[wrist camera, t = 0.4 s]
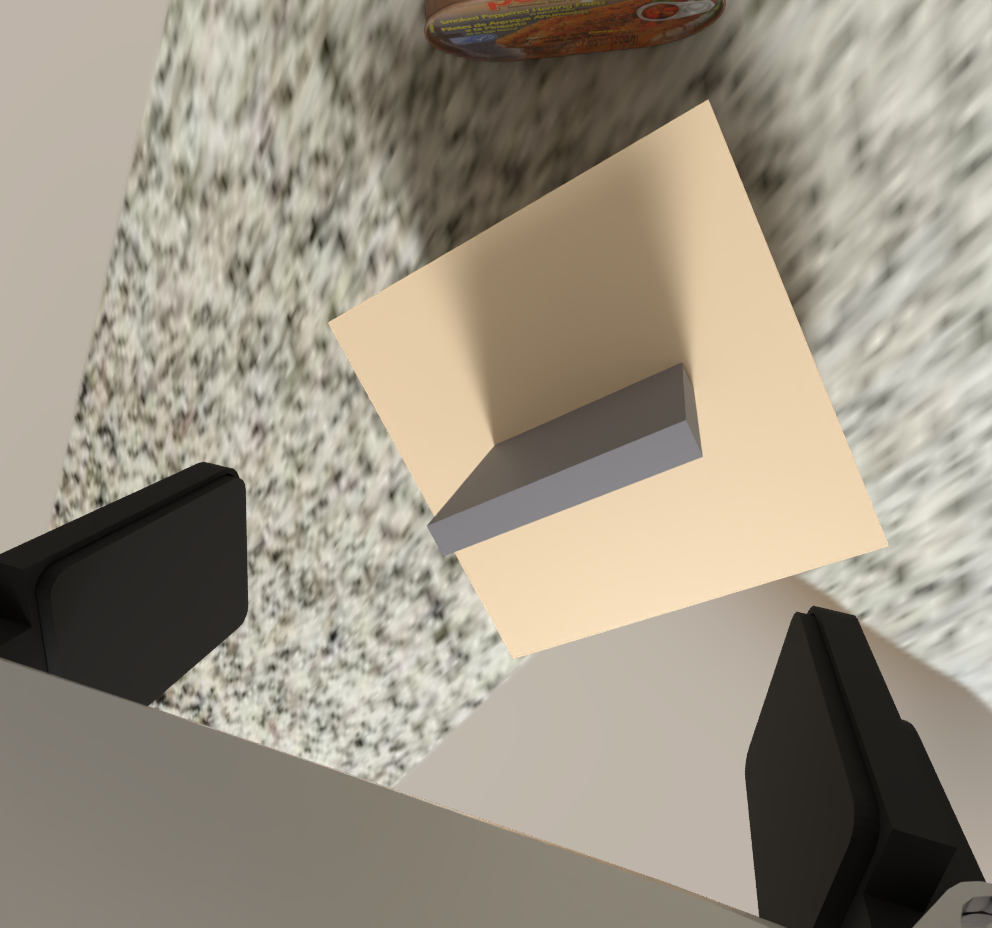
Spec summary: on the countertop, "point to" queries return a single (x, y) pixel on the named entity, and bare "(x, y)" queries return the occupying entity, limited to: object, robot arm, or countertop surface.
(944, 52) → the countertop surface
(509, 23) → the tin
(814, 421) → the lid
